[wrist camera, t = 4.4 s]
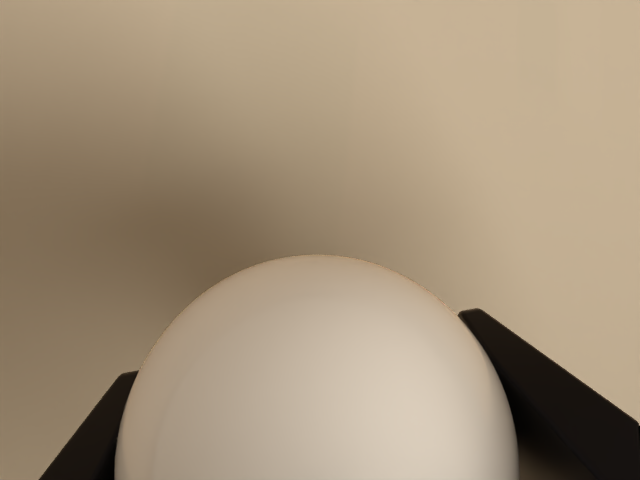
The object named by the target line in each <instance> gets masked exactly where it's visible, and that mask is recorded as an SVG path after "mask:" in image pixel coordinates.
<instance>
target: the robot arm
mask: <svg viewBox="0 0 640 480" xmlns="http://www.w3.org/2000/svg"><path fill="white" fill-rule="evenodd" d="M458 317H459V318H460V319H461V320H462V321H463V322H464V323H465V325H466V326H467V327H468V328H469V329H470V330H471V332H472V333H473V334H474V336H475V337H476V338H477V340H478V341H479V343H480V344H481V346H482V347H483V349H484V350H485V352H486V353H487V355H488V357H489V359H490V360H491V362H492V364H493V366H494V368H495V370H496V372H497V374H498V376H499V378H500V381H501V383H502V385H503V388H504V390H505V393H506V396H507V399H508V402H509V405H510V408H511V412H512V416H513V420H514V424H515V429H516V435H517V441H518V449H519V461H520V480H640V426H639V423H638V422H637V421H636V420H635V419H633V418H632V417H630V416H629V415H628V414H626V413H625V412H623V411H622V410H621V409H619V408H618V407H617V406H615V405H614V404H612V403H611V402H610V401H608V400H607V399H605V398H604V397H603V396H601V395H600V394H598V393H597V392H596V391H594V390H593V389H591V388H590V387H589V386H587V385H586V384H585V383H583V382H582V381H580V380H579V379H578V378H576V377H575V376H573V375H572V374H571V373H569V372H568V371H566V370H565V369H564V368H562V367H561V366H559V365H558V364H557V363H555V362H554V361H552V360H551V359H550V358H548V357H547V356H546V355H544V354H543V353H541V352H540V351H539V350H537V349H536V348H534V347H533V346H532V345H530V344H529V343H527V342H526V341H525V340H523V339H522V338H520V337H519V336H518V335H516V334H515V333H514V332H512V331H511V330H509V329H508V328H507V327H505V326H504V325H502V324H501V323H500V322H498V321H497V320H495V319H494V318H493V317H491V316H490V315H488V314H487V313H486V312H484V311H483V310H481V309H478V308H475V309H470V310H464V311H461V312H459V314H458ZM138 372H139V370H138V371H133V372H127V373H123V374H121V375H120V376H119V377H118V378H117V379H116V380H115V382H114V383H113V384H112V386H111V387H110V388H109V389H108V391H107V392H106V393H105V395H104V396H103V397H102V399H101V400H100V401H99V402H98V404H97V405H96V406H95V408H94V409H93V410H92V411H91V413H90V414H89V415H88V417H87V418H86V419H85V421H84V422H83V423H82V424H81V426H80V427H79V428H78V430H77V431H76V432H75V433H74V435H73V436H72V437H71V439H70V440H69V441H68V443H67V444H66V445H65V446H64V448H63V449H62V450H61V452H60V453H59V454H58V455H57V457H56V458H55V459H54V461H53V462H52V463H51V464H50V466H49V467H48V468H47V470H46V471H45V472H44V474H43V475H42V476H41V477H40V479H39V480H114V465H115V453H116V444H117V438H118V432H119V427H120V422H121V419H122V415H123V411H124V408H125V404H126V401H127V398H128V395H129V393H130V390H131V387H132V385H133V383H134V380H135V378H136V376H137V374H138Z"/></svg>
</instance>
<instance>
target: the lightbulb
mask: <svg viewBox="0 0 640 480" xmlns="http://www.w3.org/2000/svg"><path fill="white" fill-rule="evenodd" d="M114 480H520V461H519V449H518V441H517V435H516V429H515V424H514V420H513V416H512V412H511V408H510V405H509V402H508V399H507V396H506V393H505V390H504V388H503V385H502V383H501V381H500V378H499V376H498V374H497V372H496V370H495V368H494V366H493V364H492V362H491V360H490V359H489V357H488V355H487V353H486V352H485V350H484V349H483V347H482V346H481V344H480V343H479V341H478V340H477V338H476V337H475V336H474V334H473V333H472V332H471V330H470V329H469V328H468V327H467V326H466V325H465V323H464V322H463V321H462V320H461V319H460V318H459V317H458V316H457V315H456V314H455V313H454V312H453V311H452V310H451V309H450V308H449V307H448V306H447V305H446V304H445V303H443V302H442V301H441V300H440V299H439V298H437V297H436V296H435V295H434V294H432V293H431V292H429V291H428V290H427V289H425V288H424V287H422V286H421V285H419V284H418V283H416V282H414V281H413V280H411V279H409V278H407V277H405V276H404V275H402V274H399V273H397V272H395V271H393V270H391V269H388V268H386V267H383V266H381V265H378V264H375V263H371V262H368V261H364V260H360V259H356V258H351V257H344V256H336V255H316V254H314V255H297V256H289V257H283V258H278V259H274V260H270V261H266V262H263V263H260V264H257V265H254V266H251V267H248V268H246V269H243V270H241V271H239V272H237V273H235V274H233V275H231V276H229V277H227V278H225V279H223V280H222V281H220V282H218V283H217V284H215V285H214V286H212V287H211V288H209V289H208V290H206V291H205V292H204V293H202V294H201V295H200V296H198V297H197V298H196V299H195V300H194V301H192V302H191V303H190V304H189V305H188V306H187V307H186V308H185V309H184V310H183V311H182V312H181V313H180V314H179V315H178V316H177V317H176V318H175V319H174V320H173V321H172V322H171V323H170V325H169V326H168V327H167V328H166V329H165V331H164V332H163V333H162V335H161V336H160V337H159V339H158V340H157V341H156V343H155V344H154V346H153V347H152V349H151V350H150V352H149V354H148V355H147V357H146V359H145V360H144V362H143V364H142V366H141V368H140V370H139V372H138V374H137V376H136V378H135V380H134V383H133V385H132V387H131V390H130V393H129V395H128V398H127V401H126V404H125V408H124V411H123V415H122V419H121V422H120V427H119V432H118V438H117V444H116V453H115V465H114Z"/></svg>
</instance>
